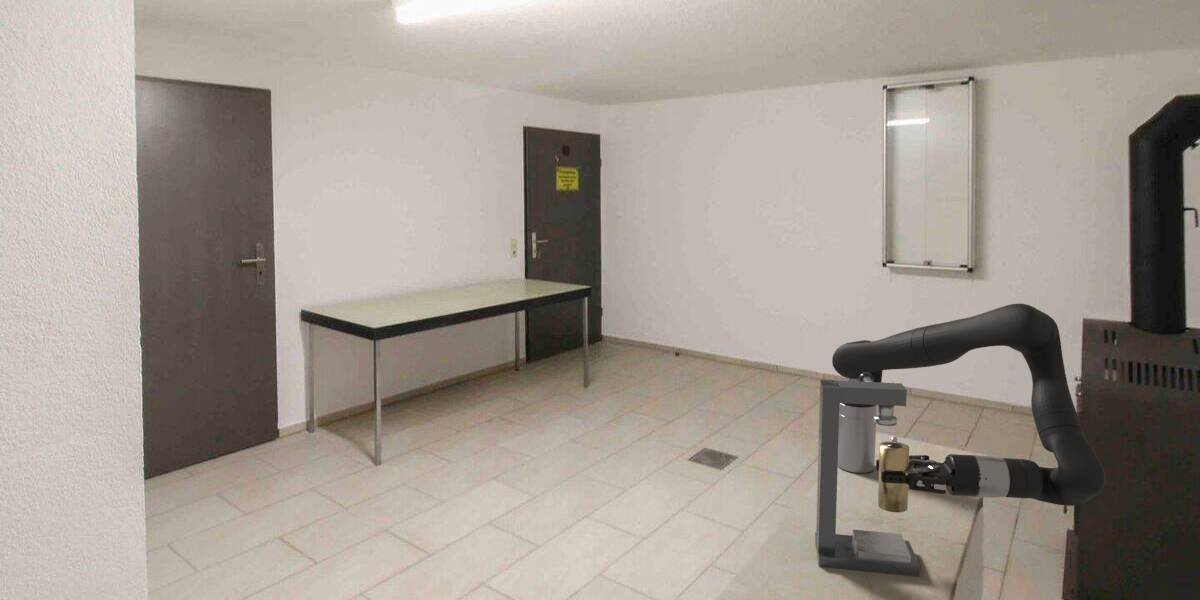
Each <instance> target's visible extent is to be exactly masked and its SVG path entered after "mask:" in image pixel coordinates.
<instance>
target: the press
mask: <svg viewBox="0 0 1200 600" xmlns="http://www.w3.org/2000/svg"><path fill="white" fill-rule="evenodd" d="M873 381H874V378H873V376H872V374H870V373H868V372H864V373H862V374H860V376H859V382H855V381H849V380H838V379H820V384H819V413H818V414H819V416H818V417H819V419H818V449H817V450H818V455H817V487H816V488H817V490H816V493H817V494H816V524H815V525H816V529H815V531H816V532H815V533H814V535H815V537H814V543H815V550H816V554H817V555H816V556H817V562H818V563H817V564H818V567H822V568H833V569H841V570H850V571H859V572H861V571H862V572H872V573H880V574H890V575H891V574H892V575H900V576H902V575H903V576H910V577H920V574H921V573H920V572H921V571H920V570H921V566H920V564H919V561H918V559H917V556H916V554H915V552H914V549H913V547H912V545H911V543H910V541H909V540H905V539H904V537H903V534H902V533H896V532H895V533H894V532H887V531H886V532H885V531H884V532H883V531H872V530H861V529H852V534H851V535H850V534H837V533H836V530H837V529H836V528H837V501H838V500H837V499H838V492H837V491H838V468H839V467H838V436H839V404H840V403H849V404H870V405H877V412H876V415H875V416H874V423H876V425H879V426H885V427H893V426H896V425H898V417H896V416H895V407H896V406H897V407H907V399H908V398H907V395H908V394H907V393H908V390H907V389H906V387H905V386H904V384H903V383H902V382H900V383H899V382H881V383H879V382H873Z"/></svg>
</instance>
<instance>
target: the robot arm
mask: <svg viewBox="0 0 1200 600" xmlns="http://www.w3.org/2000/svg"><path fill="white" fill-rule="evenodd" d="M997 346H998V347H1001V346H1002V347H1009V348H1010V349H1012V350H1015V351H1016V352H1019V353H1021V355H1022V356H1023V358H1024V360H1025V362H1026V364H1027V367H1028V369H1029V371H1030V374H1031V380H1032V381H1031V382H1032V390H1031V400H1030V402H1031V404H1030V405H1031V413H1032V417H1033V421H1034V424H1035V428H1036V430H1037V433H1038V434H1037V435H1038V437H1039V441H1040V443H1041V445H1042V447H1043V448H1044V449H1045V450H1046V451H1048V452H1050V453H1053V455H1054V458H1055V460H1056V462H1057V467H1043V466H1039V464H1037V463H1036V462H1035V461H1033V460H1031V459H1026V458H1008V457H1007V458H1005V457H996V456H992V455H991V456H990V455H978V454H977V455H976V454H956V453H954V454H953V453H950V454H947V455H946V456H945V460H944V462H940V461H939V462H938V461H936V460H934V459H930V456H929V455H928V454H924V455H923V454H922V455H921V454H920V455H914V454H913V455H909V471H904V473H903V471H893V470H882V471H881V480H882V482H884V483H898V484H903V483H904V485H905V486H908V490H909V489H910V490H911V491H916V492H925V493H934V494H941V495H946V494H947V493H948V494H949V495H951V496H956V497H957V496H958V497H970V498H971V497H972V498H974V497H975V498H986V499H987V498H988V499H989V498H990V499H991V498H992V499H994V498H995V499H996V498H1011V499H1012V498H1014V499H1032V500H1036V501H1038V502H1043V503H1047V504H1053V505H1057V506H1065V507H1066V506H1070V507H1071V506H1073V507H1074V506H1081V505H1084V504H1086V503H1088V502H1090V501H1091V500H1092V499H1093V498H1095V497H1096V496H1098V495H1099V494H1101V493H1102V491H1103V489H1105V486H1106V481H1107V480H1106V473H1105V469H1104V467H1103V464H1102V462H1101V460H1100V459H1099V457H1098V455H1097V453H1096V452H1095V450H1094V448H1093V447H1092V446H1091V444H1090V443H1089V442H1088V440H1087V438H1086V437H1085V435H1084V431H1083V429H1082V425H1081V422H1080V419H1079V415H1078V413H1077V411H1076V408H1075V405H1074V401H1073V399H1072V395H1071V391H1070V388H1069V384H1068V380H1067V375H1066V374H1067V373H1066V369H1065V363H1064V357H1063V351H1062V342H1061V336H1060V330H1059V327H1058V323H1057V322H1056V321H1055V319H1053V317H1051V316H1050V315H1049V314H1047V313H1045V312H1044V311H1042V310H1040V309H1037V308H1036V307H1034V306H1032V305H1029V304H1025V303H1012V304H1007V305H1003V306H1001V307H997V308H994V309H991V310H989V311H985V312H983V313H979V314H976V315H973V316H969V317H965V318H960V319H954V320H950V321H946V322H940V323H934V324H929V325H924V326H921V327H917V328H912V329H909V330H905V331H902V332H899V333H895V334H893V335H892V334H891V335H890V336H887V337H884V338H881V339H877V340H873V341H872V340H868V339H867V340H866V339H865V340H864V339H863V340H857V341H851V342H847V343H843V344H841V345H840V346H838V347H837V348H836V349H835V351H834V352H833V355H832V359H831V363H832V367H833V369H834V371H836V373H838V374H839V375H840V377H844V378H846V379H849V380H848V381H855V382H859V376H860V374H862V373H864V372H868V373H870V374H872V376H873V378H874V381H873V382H879V383H883V382H882V379H883V372H884V371H887V370H906V369H907V370H908V369H920V368H929V367H935V366H942V365H946V364H947V365H948V364H949V363H953V362H954V361H957V360H958V359H960V358H961V357H962V356H964V355H966V353H969V352H970V351H973V350H976V349H981V348H989V347H997ZM877 412H878V405H870V404H849V403H840V404H839V436H838V468H839V469H840V470H843V471H847V472H850V473H856V474H857V473H860V474H864V473H870V472H874V470H875V469H876V471H877V472H879V458H878V459H875V458H876V435H877V434H876V433H877V424H876V423H874V416H875V415H877Z"/></svg>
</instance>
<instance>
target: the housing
mask: <svg viewBox="0 0 1200 600" xmlns="http://www.w3.org/2000/svg"><path fill="white" fill-rule="evenodd" d="M878 450H879V454H878V455H879V457H878V459H879V471H878V488H877V489H878V493H877V494H878V495H877V496H878V497H877V498H878V499H877V506H878V507H879V508H880V509H881V510H883V511H886V512H890V513H904V512H907V511H908V504H909V486H905V485H904V483H903V484H898V483H884V482H882V480H881V471H882V470H893V471H903V473H904V471H909V456H910V446H909V445H908V444H905V443H902V442H898V437H895V436H893V437H891V441H882V442H880V443H879V449H878Z"/></svg>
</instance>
